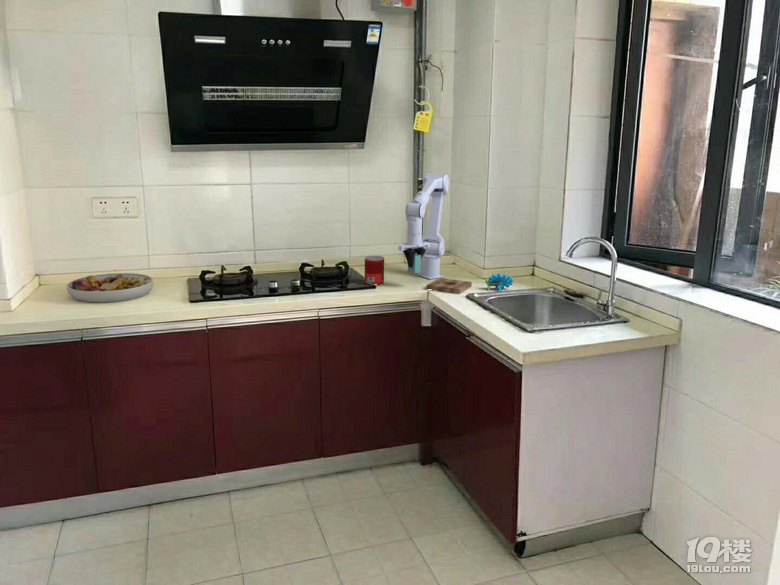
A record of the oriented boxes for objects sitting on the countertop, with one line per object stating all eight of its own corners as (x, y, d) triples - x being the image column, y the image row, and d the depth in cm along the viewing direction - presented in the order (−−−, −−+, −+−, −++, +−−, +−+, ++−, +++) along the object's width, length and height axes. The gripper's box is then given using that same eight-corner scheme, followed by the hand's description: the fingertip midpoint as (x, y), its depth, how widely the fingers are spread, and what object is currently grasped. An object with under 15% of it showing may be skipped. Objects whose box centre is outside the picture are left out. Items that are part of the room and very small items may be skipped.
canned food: (386, 284, 264) (387, 258, 261) (368, 286, 261) (368, 259, 258) (380, 280, 270) (380, 255, 268) (362, 282, 268) (362, 256, 265)
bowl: (118, 281, 262) (116, 262, 260) (171, 291, 248) (169, 271, 246) (49, 297, 237) (47, 277, 235) (105, 309, 223) (102, 287, 221)
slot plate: (426, 289, 257) (426, 284, 256) (439, 282, 269) (439, 277, 268) (459, 294, 251) (459, 289, 250) (471, 286, 263) (471, 281, 262)
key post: (407, 271, 259) (408, 252, 257) (413, 270, 261) (414, 251, 259) (414, 273, 256) (415, 254, 254) (420, 272, 258) (421, 253, 256)
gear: (515, 284, 260) (511, 271, 252) (514, 297, 257) (510, 284, 249) (488, 286, 264) (483, 272, 256) (487, 298, 261) (482, 285, 253)
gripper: (406, 236, 247) (406, 270, 251) (435, 232, 256) (433, 266, 259) (395, 233, 253) (394, 267, 256) (423, 230, 261) (422, 263, 265)
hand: (413, 266), depth 258 cm, fingers closed on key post, 3 cm apart
